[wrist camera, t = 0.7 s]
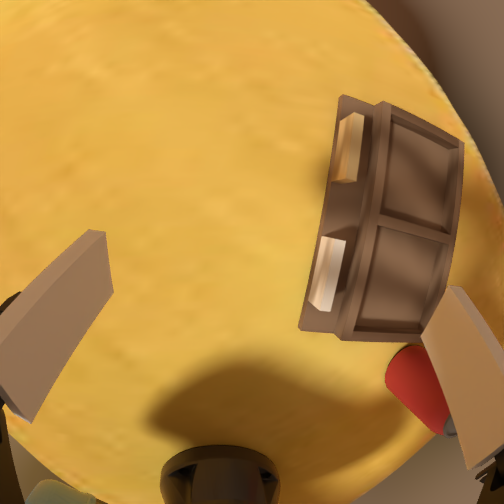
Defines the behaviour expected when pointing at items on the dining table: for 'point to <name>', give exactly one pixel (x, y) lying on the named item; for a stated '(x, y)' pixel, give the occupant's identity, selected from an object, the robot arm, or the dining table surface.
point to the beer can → (420, 389)
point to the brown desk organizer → (384, 226)
